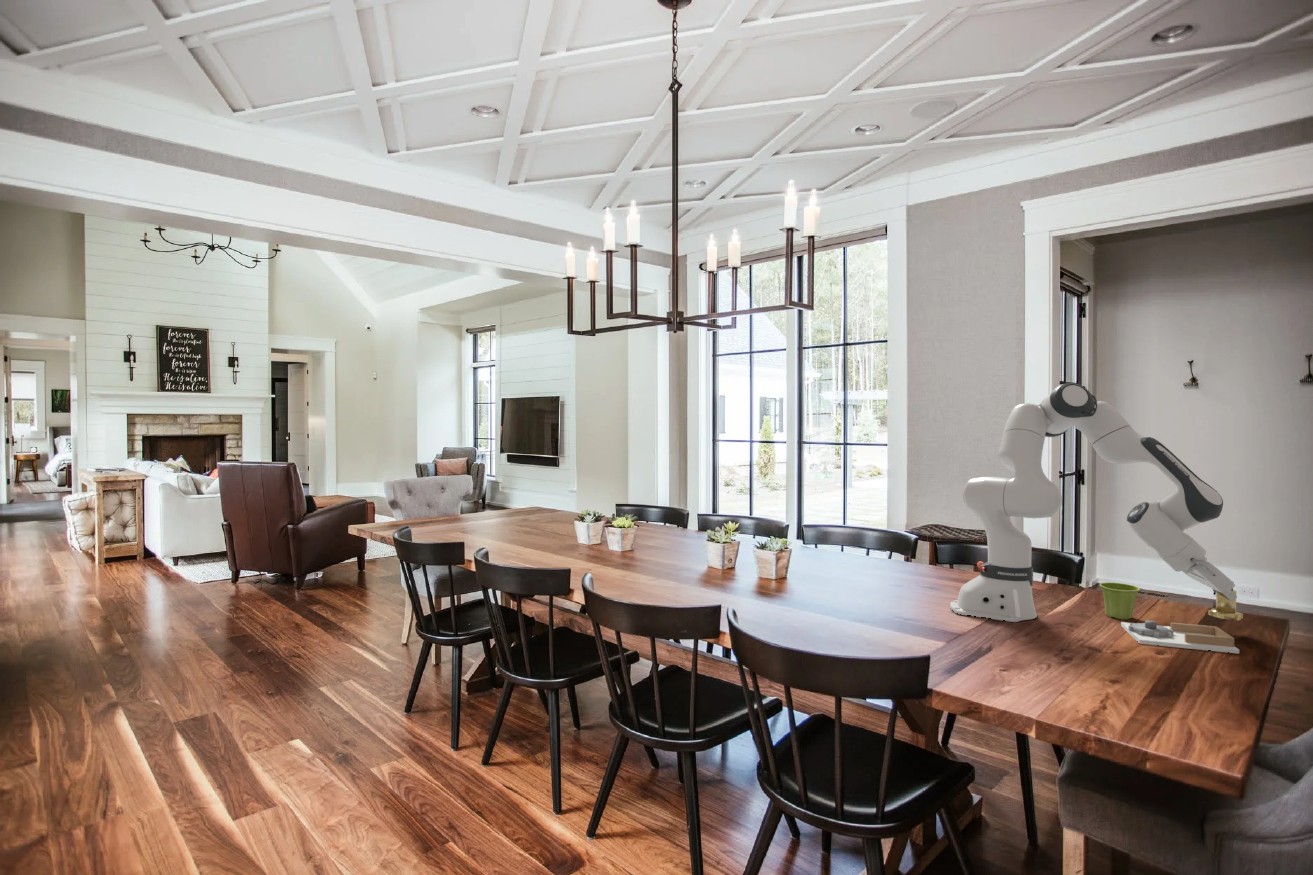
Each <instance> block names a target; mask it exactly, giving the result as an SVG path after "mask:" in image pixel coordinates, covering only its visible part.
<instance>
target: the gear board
mask: <svg viewBox="0 0 1313 875" xmlns="http://www.w3.org/2000/svg"><path fill="white" fill-rule="evenodd" d="M1120 626H1121V628H1123V629H1124V630H1125V631H1126V632H1127V633H1128V634H1129V635H1130V636H1131V637H1132V639H1134V640H1135V641H1136V642H1137V641H1138V642H1137V643H1138V644H1139V643H1140V645H1149V646H1157V645H1159V647H1168V648H1169V647H1170V648H1181V649H1191V650H1200V651H1208V650H1211V651H1210V652H1221V653H1228V652H1229V653H1231V654H1240V649H1239V648H1237V646H1235V637H1233V636H1231V635H1230V634H1228V633H1227V632H1226V631H1224V630H1222V629H1221V628H1220V627H1218V626H1215V625H1214V626H1213V625H1203V624H1191V623H1181V622H1170V626H1169V625H1158V623H1157V621H1155V620H1150V619H1146V620H1144V622H1141V623H1140V622H1136V623H1135V622H1125V621H1121V622H1120ZM1229 653H1228V654H1229Z"/></svg>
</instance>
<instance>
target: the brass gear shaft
mask: <svg viewBox="0 0 1313 875" xmlns="http://www.w3.org/2000/svg"><path fill="white" fill-rule="evenodd" d="M1231 581H1232V582H1233V583H1234V582H1235V581H1233V580H1231ZM1234 584H1235V583H1234ZM1231 590H1232V592H1233V593H1234V594H1235V595H1236V596H1237V591H1236V590H1234V587H1233V588H1232V589H1231ZM1215 593H1216V595H1215V608H1213V607H1212V608H1210V609H1208V613H1207V614H1208V615H1209V616H1211V617H1214V618H1217V619H1222V620H1228V621H1242V620H1241V619H1244V614H1243V613H1241V612H1238V611H1237V598H1236V599H1235V600H1233V601H1231V600H1229V599H1228V598H1227V597H1225V596H1224V594H1223V593H1221V592H1219V591H1217V590H1216V591H1215Z"/></svg>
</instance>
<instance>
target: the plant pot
mask: <svg viewBox="0 0 1313 875" xmlns="http://www.w3.org/2000/svg"><path fill="white" fill-rule="evenodd" d="M1099 587H1100V588H1101V592H1102V594H1103V603H1104V609H1105V610H1104V612H1105V615H1106V616H1107V617H1109V618H1115V619H1118V620H1130V619H1132V618H1133V615H1134V614H1133V613H1134V609H1135V603H1136V600H1137V599H1136V598H1137V596H1138V592H1139V591H1140V590H1141V589H1140V588H1141V587H1139V586H1136V585H1132V584H1129V583H1121V582H1101V583H1099Z"/></svg>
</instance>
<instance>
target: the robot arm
mask: <svg viewBox="0 0 1313 875" xmlns="http://www.w3.org/2000/svg"><path fill="white" fill-rule="evenodd" d="M1072 427H1073V428H1074V429H1075V430H1076V429H1077V430H1078V431H1080V432H1081V434H1082V433H1083V435H1084V436H1085V438H1086V439H1087V441H1088V442H1089V444H1090V445H1091V446H1092V448H1093V449H1094V451H1095V452H1096V454H1097V455H1098V456H1099V457H1100V458H1101V459H1102V460H1104V461H1105V462H1106V463H1107V462H1108V463H1109V464H1115V465H1129V464H1135V463H1148V464H1152V465H1154V466H1155V467H1157V468H1158V469H1159V471H1161V472H1162V473H1163V474H1164V475H1165V476H1166V477H1167V479H1169V480H1170V481H1171V482H1172V483H1173V484H1174V485H1175V486H1176V487H1177V489H1178V490H1176V491H1175V492H1173V493H1171V494H1169V495H1167V496H1165V497H1161V498H1160V499H1158V500H1155V501H1153V502H1147V501H1144V502H1141V503H1138V504H1137V505H1135V506H1134V507H1133V508H1132V509H1131V510H1130V511H1129V512H1128V514H1127V517H1126V522H1127V524H1128V525H1129V526H1128V527H1130V528H1131V530H1132V531H1133V532H1134V533H1135V535H1136V536H1138V539H1139V538H1140V540H1141V541H1143V542H1144V543H1145V544H1146V545H1147V546H1148V547H1149V548H1152V549H1153V550H1154V551H1155V552H1156V553H1157V554H1158V557H1160V559H1162V560H1163V561H1164V563H1166V564H1167V565H1168V566H1169V567H1170V568H1172V570H1174V571H1175V572H1181V571H1182V573H1184V574H1185V575H1186V576H1188V577H1189V578H1190V579H1192V580H1195V581H1196V582H1199V583H1200V584H1202V585H1205V586H1207V587H1209V588H1211V589H1212V590H1213V591H1214V592H1216V590H1217V591H1219V592H1221V593H1223V594H1224V596H1225V597H1227V598H1228V599H1229V600H1231V601H1233V600H1235V599H1236V600H1237V599H1238V596H1237V594H1236V595H1235V594H1234V593H1233V592H1232V590H1231V589H1232V588H1233V589H1234V588H1235V587H1236V585H1235V583H1233V582H1234V581H1233V580H1232V579H1230V578H1229V577H1228V576H1227V575H1226V574H1224V572H1222V570H1220V569H1219V568H1218V567H1216V566H1215V565H1214V564H1213V563H1211V562H1209V561H1207V560H1208V559H1207V558H1206V553H1207V550H1206V549H1205V548H1204V547H1203V546H1201V544H1199V542H1197V541H1196V540H1195V539H1194V538H1193V537H1192V536H1191V535H1189V534H1188V533H1185V532H1184V531H1185V530H1188V529H1191V528H1193V527H1195V526H1198V525H1200V524H1202V523H1206V522H1208V521H1213V520H1215V519H1218V518H1219V517H1220V515H1221V513H1222V512H1223V506H1224V499H1223V498H1222V496H1221V494H1220V493H1219V492H1218V491H1217V490H1216V489H1215V488H1214V487H1212V486H1211V485H1209V484H1208V483H1207V482H1205V481H1204V480H1202V478H1200V477H1199V476H1198V475H1197V474H1196V473H1194V472H1193V470H1191V469H1190V468H1189V467H1188V466H1187V465H1186V464H1185V463H1184V462H1183V461H1181V459H1180V458H1178V457H1177V456H1176V455H1175V454H1174V453H1173V451H1171V450H1170V449H1169V448H1167V446H1166V445H1165V444H1162V442H1160V441H1159V440H1157V439H1156V438H1153V437H1151V436H1147V437H1145V436H1144V435H1141V433H1140V434H1139V433H1138V432H1137V431H1136V430H1135V429H1134V428H1133V427H1132V426H1131V424H1130V423H1129V422H1128V421H1127V420H1126V419H1125V417H1124V416H1123V415H1122V414H1121V413H1120V412H1119V411H1118V410H1117V409H1116V408H1115V407H1114V406H1112V404H1110V403H1108V402H1107V401H1103V400H1098V401H1097V398H1096V396H1095V395H1093V394H1092V393H1091V392H1090V391H1089V390H1088V389H1087V388H1086V387H1085V386H1083V385H1081V384H1078V383H1075V382H1066V383H1062V384H1060V385H1058V386H1057V387H1055V388H1054V389H1053V390H1052V391H1051V392H1050V393H1049V394H1048V395H1047V396H1046V397H1045V398H1044V399H1043V400H1042V401H1041V402H1040V403H1039V404H1034V403H1031V402H1030V403H1028V402H1027V403H1019V404H1017V405H1016V406H1015V407H1013V408H1012V410H1011V412H1010V414H1009V415H1008V418H1007V421H1006V423H1005V425H1004V428H1003V432H1002V436H1001V440H1000V443H999V444H1000V445H999V449H998V455H997V456H998V460H999V462H1000V464H1001V465H1002V466H1003V467H1004V468H1006V469H1007V470H1009V471H1011V472H1012V473H1015V474H1014V476H1012V477H1002V476H982V477H981V476H979V477H973V478H970V479H969V480H968V481H967V482H966V483H965V485H964V487H963V490H962V500H963V502H964V504H965V506H966V507H967V509H969V511H971V512H972V513H973V514H975V516H976V517H977V518H978V519H979V521H980V523H981V524H982V526H983V528H984V530H985V535H986V540H987V561H986V562H983V561H978V562H977V563H976V566H977V568H978V569H979V575H978V576H975V577H974V578H972V579H970V580H969V581H967V582H965V583H964V584H962V586H961V587H960V589H959V592H958V597H957V599H954V600H952V601H950V603H949V604H950V605H949V608H951V609H950V610H951V611H952V610H953V611H954V612H953V611H952V612H953V613H954V614H957V613H958V614H957V615H960V614H961V615H962V616H967V615H971V616H970V617H974V616H976V617H975V618H981V617H986V618H985V619H988V618H991V619H990V620H996V621H1003V620H1005V622H1011V623H1017V622H1021V621H1026V620H1027V621H1028V620H1033V619H1035V618H1037V617H1038V616H1037V615H1038V614H1037V613H1036V612H1037V610H1036V608H1035V604H1034V599H1033V598H1034V597H1033V589H1032V586H1033V584H1034V567H1033V566H1032V540H1031V538H1030V537H1029V535H1028V534H1027V533H1026V532H1024V530H1023V531H1022V530H1021V529H1020V528H1017V527H1016V526H1015V525H1014V524H1013V522H1012V520H1011V517H1016V518H1025V519H1044V518H1045V519H1046V518H1053V517H1054V516H1055V515H1057V513H1058V512H1059V511H1060V509H1061V507H1062V503H1063V496H1062V493H1061V491H1060V489H1059V487H1058V486H1057V484H1055V483H1054V482H1052V481H1051V480H1050V479H1049V478H1048V476H1046V474H1045V472H1044V471H1043V468H1042V466H1043V465H1042V458H1043V457H1042V456H1043V450H1044V444H1045V439H1046V437H1047V438H1054V437H1055V438H1056V437H1059V436H1061V435H1063V434H1065V433H1066V432H1068V430H1069V429H1071V428H1072ZM1232 581H1233V582H1232Z"/></svg>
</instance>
